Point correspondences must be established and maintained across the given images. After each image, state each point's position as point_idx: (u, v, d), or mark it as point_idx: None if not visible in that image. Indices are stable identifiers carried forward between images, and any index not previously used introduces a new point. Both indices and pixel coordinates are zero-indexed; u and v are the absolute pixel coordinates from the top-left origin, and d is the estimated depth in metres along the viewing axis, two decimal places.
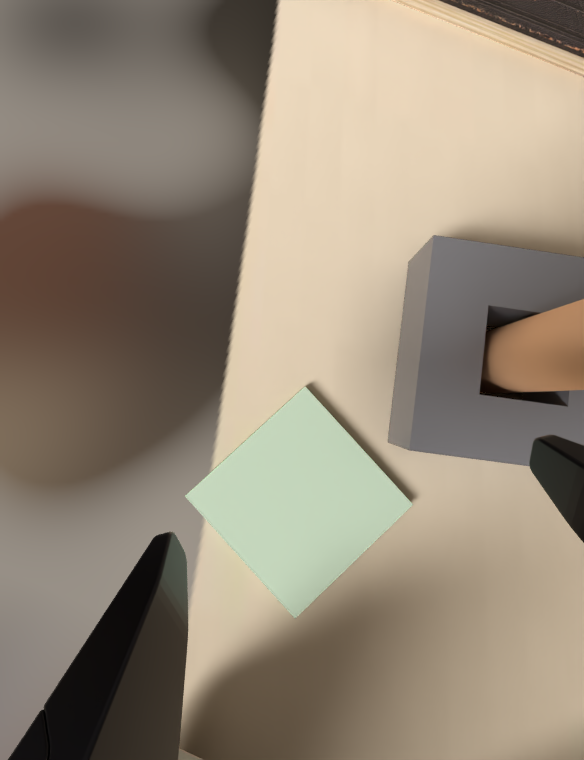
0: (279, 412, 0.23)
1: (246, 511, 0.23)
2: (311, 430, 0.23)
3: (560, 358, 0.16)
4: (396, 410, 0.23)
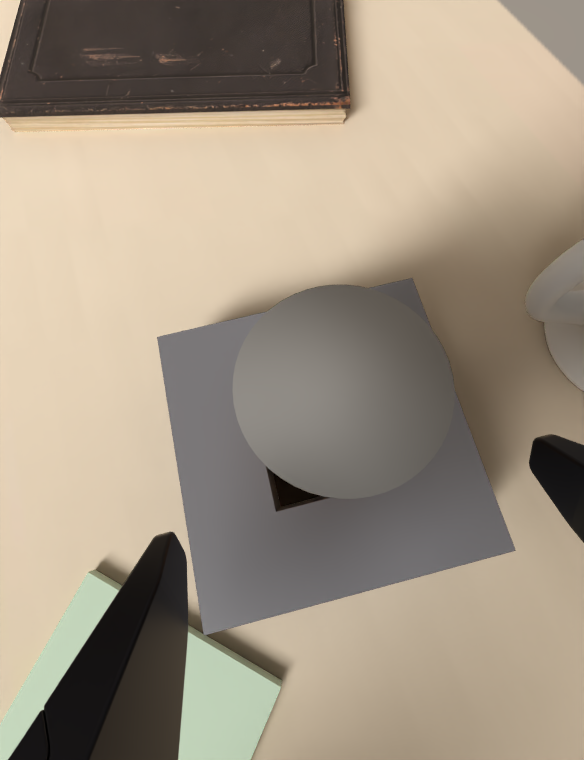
0: (61, 624, 0.17)
1: None
2: None
3: None
4: None
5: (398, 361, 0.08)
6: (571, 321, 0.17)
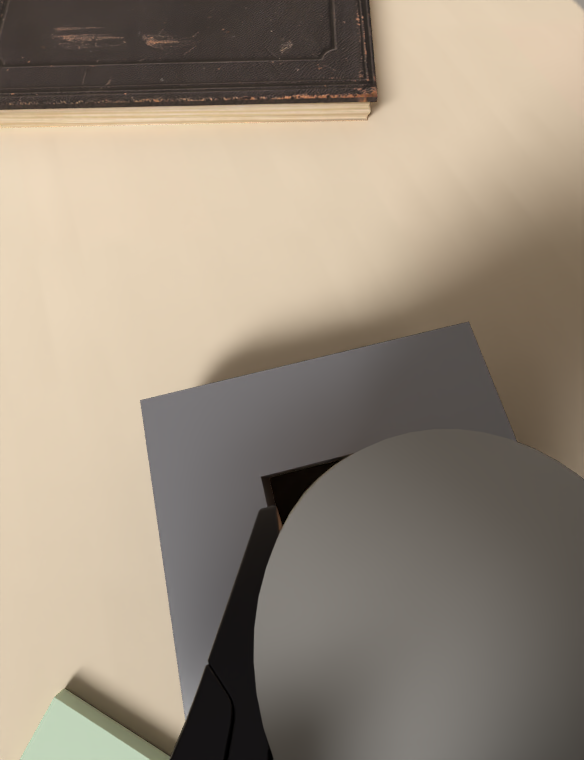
0: None
1: None
2: None
3: None
4: None
5: (574, 596, 0.04)
6: None
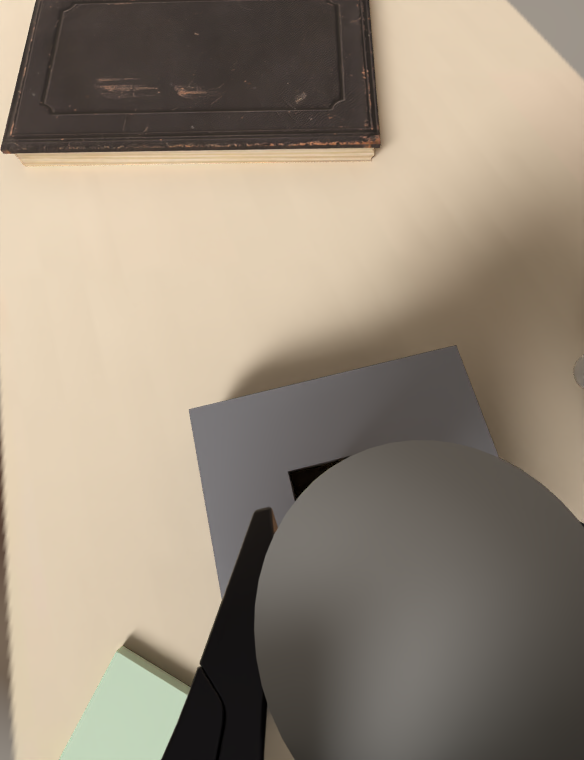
0: (89, 708, 0.16)
1: None
2: (141, 717, 0.16)
3: None
4: None
5: (529, 587, 0.05)
6: None
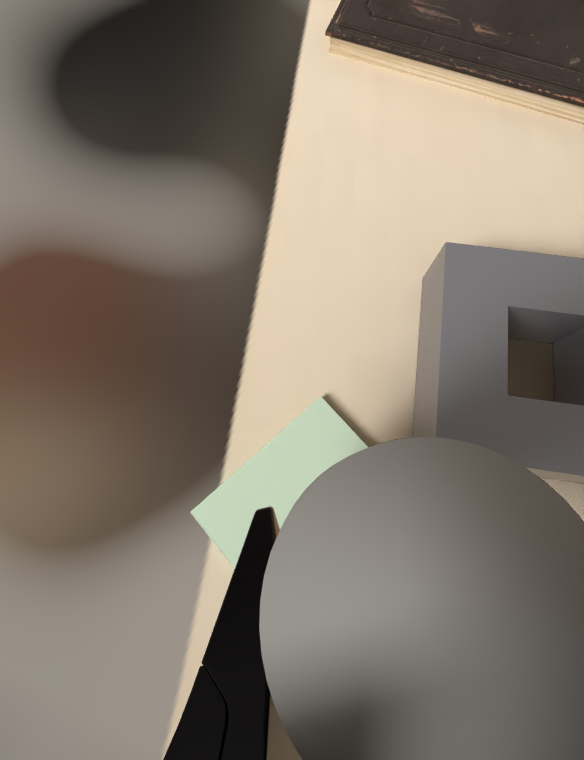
0: (293, 423, 0.22)
1: None
2: (327, 442, 0.22)
3: None
4: (418, 421, 0.22)
5: (532, 582, 0.05)
6: None
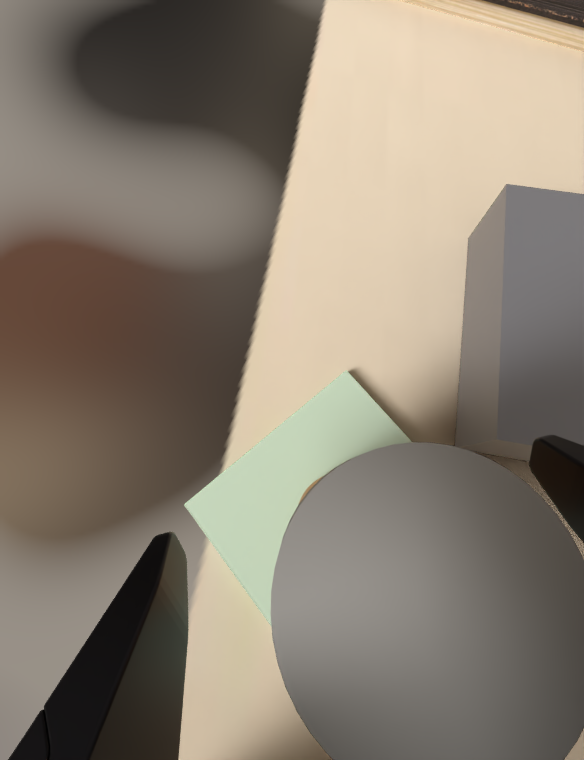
0: (313, 400, 0.18)
1: (264, 531, 0.17)
2: (354, 425, 0.18)
3: None
4: (466, 402, 0.18)
5: (514, 572, 0.05)
6: None
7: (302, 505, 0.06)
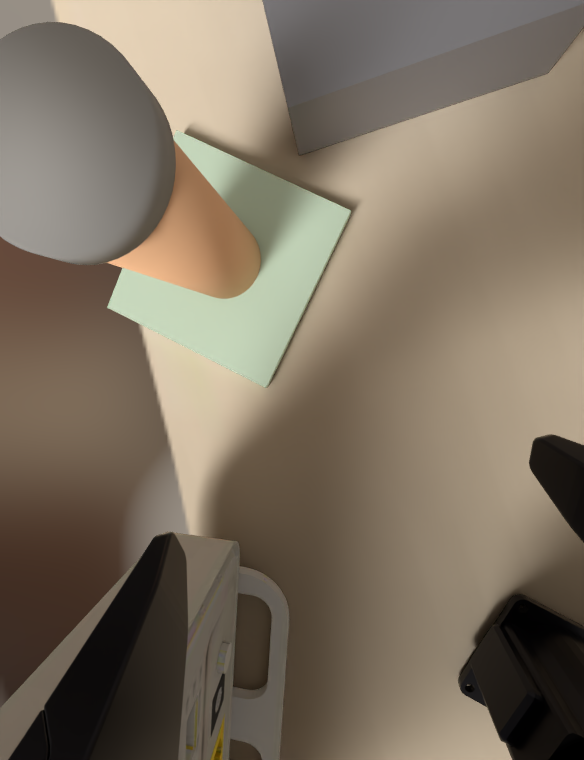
0: None
1: (172, 297, 0.20)
2: None
3: None
4: None
5: (88, 93, 0.08)
6: None
7: None
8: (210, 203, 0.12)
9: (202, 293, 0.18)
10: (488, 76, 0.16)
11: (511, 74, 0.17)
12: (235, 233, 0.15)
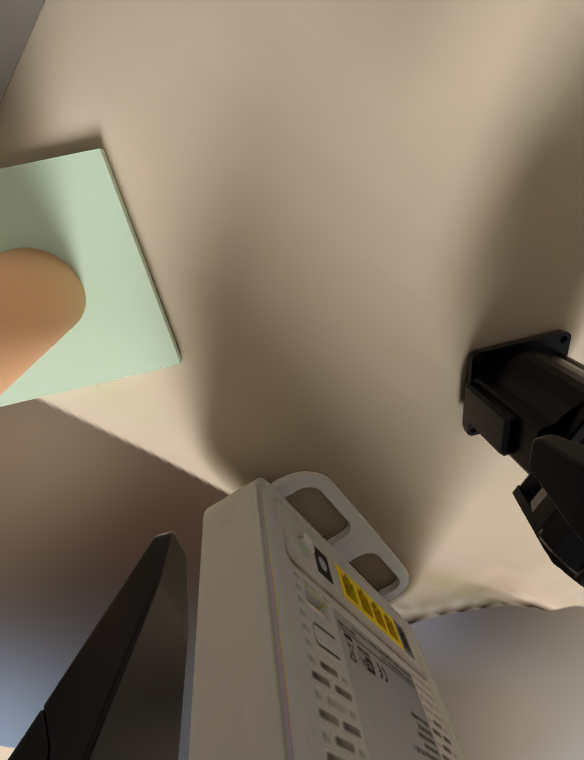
0: None
1: None
2: None
3: None
4: None
5: None
6: None
7: None
8: None
9: None
10: None
11: None
12: (15, 291, 0.13)
